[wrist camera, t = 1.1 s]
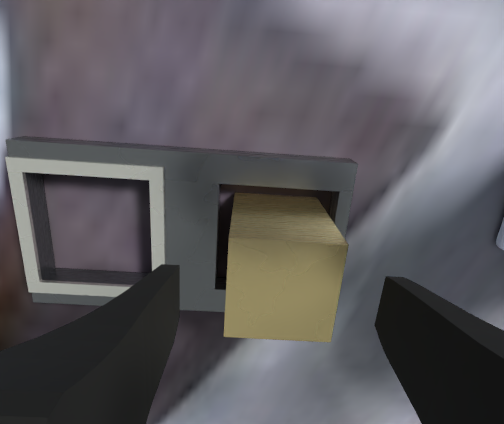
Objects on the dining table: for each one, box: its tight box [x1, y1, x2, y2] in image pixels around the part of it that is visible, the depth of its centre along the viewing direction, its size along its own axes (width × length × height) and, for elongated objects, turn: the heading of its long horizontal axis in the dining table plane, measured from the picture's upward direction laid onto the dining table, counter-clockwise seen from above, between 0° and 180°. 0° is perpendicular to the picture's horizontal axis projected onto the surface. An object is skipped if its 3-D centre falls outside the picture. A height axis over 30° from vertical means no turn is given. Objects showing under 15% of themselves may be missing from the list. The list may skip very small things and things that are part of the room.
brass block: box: [224, 192, 348, 342], centre depth 14 cm, size 4×4×6 cm
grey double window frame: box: [5, 136, 358, 312], centre depth 16 cm, size 15×8×1 cm, turn 86°
